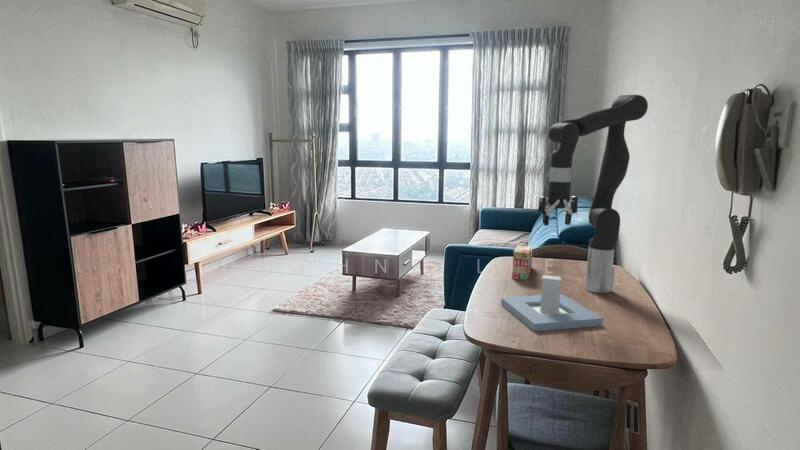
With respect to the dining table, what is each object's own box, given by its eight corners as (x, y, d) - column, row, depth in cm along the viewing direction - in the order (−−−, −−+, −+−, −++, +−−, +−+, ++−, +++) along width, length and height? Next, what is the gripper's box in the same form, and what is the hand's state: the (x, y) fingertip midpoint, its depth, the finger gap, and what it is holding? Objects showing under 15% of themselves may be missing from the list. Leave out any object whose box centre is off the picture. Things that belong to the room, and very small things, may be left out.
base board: (561, 300, 171) (561, 293, 170) (602, 325, 148) (603, 318, 147) (500, 304, 166) (501, 297, 165) (534, 331, 143) (534, 323, 142)
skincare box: (558, 310, 158) (561, 276, 155) (558, 314, 154) (561, 280, 151) (540, 308, 160) (542, 274, 157) (539, 312, 156) (542, 278, 153)
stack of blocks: (517, 266, 216) (519, 240, 214) (531, 267, 214) (533, 242, 212) (511, 279, 196) (513, 251, 194) (526, 280, 194) (528, 252, 192)
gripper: (571, 179, 169) (568, 222, 172) (536, 179, 166) (533, 223, 169) (584, 181, 162) (580, 226, 165) (547, 181, 159) (544, 227, 162)
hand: (556, 224), depth 167 cm, fingers open, 8 cm apart
